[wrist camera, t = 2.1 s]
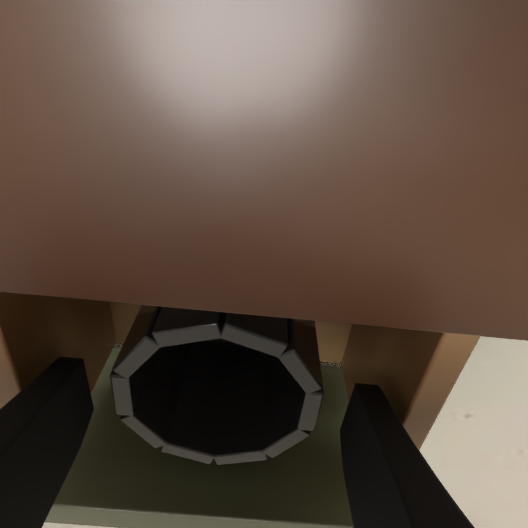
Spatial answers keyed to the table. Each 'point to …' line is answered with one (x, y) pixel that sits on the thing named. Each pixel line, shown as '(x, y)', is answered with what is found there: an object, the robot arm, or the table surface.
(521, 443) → the table surface
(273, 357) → the faceted hollow tube
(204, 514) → the drawer
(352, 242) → the cabinet
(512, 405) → the table surface
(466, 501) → the table surface
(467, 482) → the table surface
